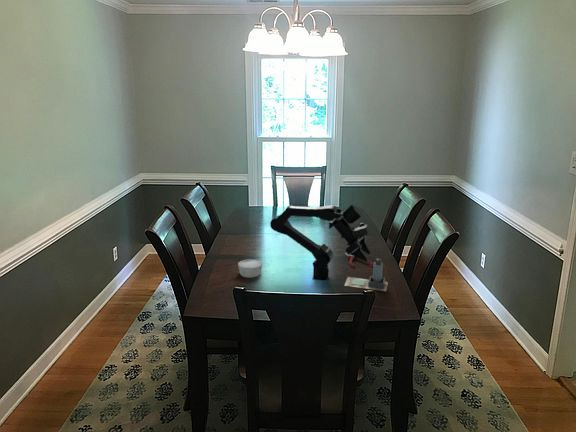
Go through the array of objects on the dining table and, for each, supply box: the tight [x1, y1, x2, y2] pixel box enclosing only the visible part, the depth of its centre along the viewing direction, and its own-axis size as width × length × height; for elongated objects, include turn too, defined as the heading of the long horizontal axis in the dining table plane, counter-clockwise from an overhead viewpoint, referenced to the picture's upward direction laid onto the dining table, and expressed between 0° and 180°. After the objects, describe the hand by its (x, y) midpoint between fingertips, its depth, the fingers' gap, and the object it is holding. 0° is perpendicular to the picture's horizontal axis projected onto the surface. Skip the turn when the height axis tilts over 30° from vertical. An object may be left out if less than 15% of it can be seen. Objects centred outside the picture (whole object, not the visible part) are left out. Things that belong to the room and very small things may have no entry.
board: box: [344, 276, 389, 292], centre depth 203 cm, size 18×10×1 cm, turn 74°
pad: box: [351, 279, 365, 286], centre depth 204 cm, size 6×6×1 cm
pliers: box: [344, 252, 374, 269], centre depth 231 cm, size 12×20×3 cm, turn 16°
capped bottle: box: [372, 258, 384, 283], centre depth 200 cm, size 4×4×12 cm
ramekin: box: [237, 259, 263, 279], centre depth 212 cm, size 11×11×5 cm
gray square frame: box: [368, 275, 386, 289], centre depth 201 cm, size 7×7×2 cm
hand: (368, 257), depth 200 cm, fingers open, 9 cm apart
